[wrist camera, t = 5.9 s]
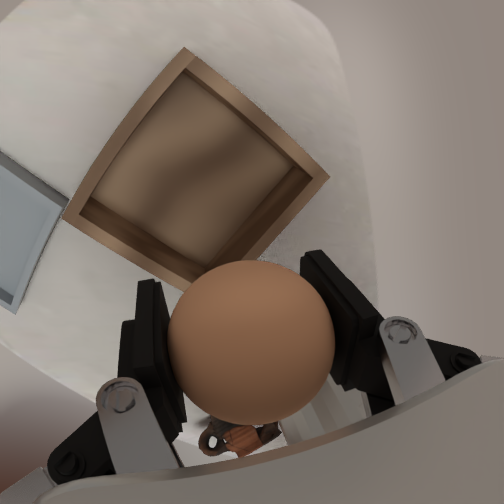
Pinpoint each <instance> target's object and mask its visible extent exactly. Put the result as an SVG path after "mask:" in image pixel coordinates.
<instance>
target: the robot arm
mask: <svg viewBox="0 0 504 504" xmlns="http://www.w3.org/2000/svg"><path fill="white" fill-rule="evenodd" d="M300 276H301V277H302V278H304V279H305V280H306V281H307V282H308V283H310V284H311V285H312V286H313V288H314V289H315V290H316V291H317V292H318V294H319V295H320V296H321V298H322V299H323V301H324V303H325V304H326V306H327V308H328V310H329V313H330V316H331V319H332V322H333V326H334V332H335V354H334V359H333V363H332V367H331V370H330V372H329V375H328V377H327V379H326V381H325V383H324V385H323V386H322V388H321V389H320V391H319V392H318V393H317V395H316V396H315V397H314V398H313V399H312V400H311V401H310V402H309V403H308V404H307V405H305V406H304V407H303V408H302V409H300V410H299V411H298V412H296V413H294V414H293V415H291V416H289V417H287V418H284V419H282V420H279V424H280V427H281V429H282V432H283V434H284V437H285V439H286V442H287V444H288V446H285V447H281V448H278V449H274V450H270V451H266V452H262V453H258V454H254V455H250V456H245V457H241V458H236V459H232V460H226V461H221V462H216V463H210V464H204V465H198V466H191V467H184V465H183V463H182V461H181V459H180V457H179V455H178V453H177V451H176V449H175V447H174V445H173V443H172V442H173V441H174V440H175V439H176V438H177V436H178V435H179V432H183V430H182V423H185V422H187V417H186V410H185V404H184V397H183V391H182V389H181V388H180V386H179V384H178V383H177V381H176V379H175V377H174V374H173V371H172V368H171V364H170V359H169V354H168V347H167V333H168V326H169V322H170V316H169V312H168V309H167V305H166V301H165V297H164V293H163V289H162V285H161V282H155V280H154V279H148V280H142V281H138V288H137V299H136V312H135V319H134V320H128V321H123V322H122V328H121V338H120V349H119V361H118V376H117V378H114V379H112V380H110V381H108V382H106V383H105V384H104V385H103V386H102V387H101V388H100V389H99V391H98V393H97V396H96V406H97V410H98V411H97V412H96V413H94V414H93V415H92V416H91V417H90V418H89V419H88V420H87V421H86V422H85V423H83V424H82V425H81V426H80V427H79V428H78V429H77V430H76V431H75V432H73V433H72V434H71V435H70V436H69V437H68V438H67V439H66V440H64V441H63V442H62V443H61V444H60V445H59V446H58V447H57V448H55V449H54V451H53V452H52V453H51V454H50V457H49V459H48V463H47V467H45V468H44V469H43V468H41V467H39V468H37V469H36V470H34V471H33V472H31V473H30V474H28V475H27V476H26V477H24V478H23V479H21V480H20V481H19V482H17V483H15V484H14V485H12V486H11V487H9V488H8V489H6V490H5V491H3V492H2V493H1V494H0V504H504V358H500V357H491V356H483V355H481V357H480V358H479V357H478V356H477V355H476V353H474V352H473V351H471V350H470V349H467V348H464V347H459V346H455V345H451V344H446V343H443V342H438V341H434V340H430V339H426V338H425V337H424V335H423V333H422V331H421V329H420V328H419V327H418V325H417V324H416V323H415V322H413V321H412V320H410V319H408V318H404V317H399V316H394V317H389V318H387V319H384V318H383V317H382V316H381V314H380V313H379V312H378V311H377V310H376V309H375V308H374V306H373V305H372V304H371V303H370V302H369V301H368V300H367V298H366V297H365V296H364V295H363V294H362V293H361V292H360V291H359V289H358V288H357V287H356V286H355V285H354V284H353V283H352V282H351V281H350V280H349V279H348V278H347V277H346V276H345V275H344V274H343V273H342V272H341V271H340V270H339V268H338V267H337V266H336V265H335V264H334V263H333V262H332V261H331V260H330V259H329V257H328V256H327V255H326V254H325V253H324V252H323V251H322V250H314V251H308V252H306V253H305V255H304V256H303V257H301V259H300Z"/></svg>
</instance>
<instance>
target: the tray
mask: <svg viewBox="0 0 504 504" xmlns="http://www.w3.org/2000/svg"><path fill="white" fill-rule="evenodd" d="M68 201H69V199H68V198H66V197H65V196H63V195H62V194H60V193H59V192H57V191H56V190H54V189H53V188H51V187H50V186H49V185H47V184H46V183H44V182H43V181H41V180H40V179H38V178H37V177H35V176H34V175H33V174H31V173H30V172H28V171H27V170H25V169H24V168H23V167H21V166H20V165H18V164H17V163H16V162H14V161H13V160H11V159H10V158H9V157H7V156H6V155H4V154H3V153H2V152H0V305H1V306H2V307H4V308H5V309H7V310H9V311H10V312H12V313H14V314H15V315H16V313H17V311H18V309H19V307H20V304H21V302H22V300H23V297H24V294H25V292H26V289H27V287H28V284H29V282H30V279H31V277H32V275H33V272H34V270H35V267H36V265H37V263H38V261H39V258H40V256H41V254H42V252H43V250H44V247H45V245H46V243H47V241H48V239H49V237H50V235H51V233H52V231H53V229H54V227H55V225H56V223H57V221H58V219H59V217H60V215H61V213H62V212H63V210H64V208H65V206H66V204H67V202H68Z"/></svg>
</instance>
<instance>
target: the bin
mask: <svg viewBox="0 0 504 504" xmlns="http://www.w3.org/2000/svg"><path fill="white" fill-rule="evenodd" d="M329 178H330V176H329V175H328V174H327V173H326V172H325V171H324V170H323V169H322V168H321V167H320V166H319V165H318V164H317V163H316V162H315V161H314V160H313V159H312V158H311V157H310V156H309V155H308V154H307V153H306V152H305V151H304V150H303V149H302V148H301V147H300V146H299V145H298V144H297V143H296V142H295V141H294V140H293V139H292V138H291V137H290V136H289V135H288V134H287V133H286V132H285V131H283V130H282V129H281V128H280V127H279V126H278V125H277V124H276V123H275V122H274V121H273V120H272V119H271V118H269V117H268V116H267V115H266V114H265V113H264V112H263V111H262V110H261V109H259V108H258V107H257V106H256V105H255V104H254V103H253V102H251V101H250V100H249V99H248V98H247V97H246V96H245V95H243V94H242V93H241V92H240V91H239V90H238V89H236V88H235V87H234V86H233V85H232V84H230V83H229V82H228V81H227V80H226V79H224V78H223V77H222V76H221V75H219V74H218V73H217V72H216V71H215V70H213V69H212V68H211V67H209V66H208V65H207V64H206V63H204V62H203V61H202V60H201V59H199V58H198V57H197V56H195V55H194V54H193V53H191V52H190V51H189V50H187V49H186V48H185V47H183V49H182V50H181V51H180V52H179V53H178V54H177V55H176V56H175V57H174V58H173V59H172V60H171V62H170V63H169V64H168V65H167V66H166V67H165V68H164V69H163V71H162V72H161V73H160V74H159V75H158V76H157V78H156V79H155V80H154V81H153V82H152V84H151V85H150V86H149V87H148V88H147V90H146V91H145V92H144V93H143V95H142V96H141V97H140V98H139V100H138V101H137V102H136V103H135V105H134V106H133V107H132V109H131V110H130V111H129V113H128V114H127V115H126V117H125V118H124V119H123V121H122V122H121V123H120V125H119V126H118V128H117V129H116V130H115V132H114V133H113V135H112V136H111V137H110V139H109V140H108V142H107V143H106V145H105V146H104V148H103V149H102V151H101V152H100V154H99V155H98V157H97V158H96V160H95V161H94V163H93V165H92V166H91V168H90V169H89V171H88V173H87V174H86V176H85V177H84V179H83V181H82V182H81V184H80V186H79V188H78V189H77V191H76V193H75V194H74V196H73V198H72V200H71V201H70V203H69V205H68V207H67V209H66V211H65V212H64V214H63V216H62V219H63V220H65V221H66V222H68V223H69V224H71V225H72V226H74V227H75V228H77V229H79V230H80V231H82V232H83V233H85V234H86V235H88V236H90V237H91V238H93V239H94V240H96V241H98V242H99V243H101V244H102V245H104V246H106V247H107V248H109V249H111V250H112V251H114V252H116V253H117V254H119V255H121V256H122V257H124V258H126V259H127V260H129V261H131V262H132V263H134V264H136V265H137V266H139V267H141V268H143V269H144V270H146V271H148V272H149V273H151V274H153V275H155V276H156V277H158V278H160V279H162V280H163V281H165V282H167V283H169V284H171V285H172V286H174V287H176V288H178V289H180V290H181V291H183V292H185V291H186V290H187V289H188V288H189V287H190V286H191V284H192V283H193V282H195V281H196V280H197V279H198V278H199V277H201V276H202V275H204V274H205V273H207V272H208V271H210V270H212V269H214V268H216V267H219V266H221V265H224V264H227V263H232V262H236V261H244V260H256V259H257V258H258V257H259V256H260V255H261V254H262V253H263V252H264V251H265V249H266V248H267V247H268V246H269V245H270V244H271V243H272V242H273V241H274V239H275V238H276V237H277V236H278V235H279V234H280V233H281V232H282V230H283V229H284V228H285V227H286V226H287V225H288V224H289V223H290V222H291V220H292V219H293V218H294V217H295V216H296V215H297V214H298V213H299V211H300V210H301V209H302V208H303V207H304V206H305V205H306V204H307V202H308V201H309V200H310V199H311V198H312V197H313V196H314V195H315V193H316V192H317V191H318V190H319V189H320V188H321V187H322V186H323V184H324V183H325V182H326V181H327V180H328V179H329Z"/></svg>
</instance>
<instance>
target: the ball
mask: <svg viewBox="0 0 504 504" xmlns="http://www.w3.org/2000/svg"><path fill="white" fill-rule="evenodd" d="M167 347H168V354H169V359H170V364H171V368H172V371H173V374H174V377H175V379H176V381H177V383H178V384H179V386H180V388H181V389H182V391H183V392H184V393H185V394H186V396H187V397H188V398H189V399H190V400H191V401H192V402H193V403H194V404H195V405H196V406H198V407H199V408H200V409H202V410H203V411H205V412H206V413H208V414H210V415H212V416H214V417H216V418H218V419H220V420H223V421H226V422H230V423H234V424H240V425H262V424H268V423H273V422H276V421H279V420H282V419H284V418H287V417H289V416H291V415H293V414H294V413H296V412H298V411H299V410H300V409H302V408H303V407H304V406H305V405H307V404H308V403H309V402H310V401H311V400H312V399H313V398H314V397H315V396H316V395H317V393H318V392H319V391H320V389H321V388H322V386H323V385H324V383H325V381H326V379H327V377H328V375H329V372H330V370H331V367H332V363H333V359H334V354H335V332H334V326H333V322H332V319H331V316H330V313H329V310H328V308H327V306H326V304H325V303H324V301H323V299H322V298H321V296H320V295H319V294H318V292H317V291H316V290H315V289H314V288H313V286H312V285H311V284H310V283H308V282H307V281H306V280H305V279H304V278H302V277H301V276H300V275H298V274H297V273H295V272H293V271H292V270H290V269H287V268H285V267H283V266H280V265H278V264H274V263H271V262H265V261H257V260H244V261H236V262H232V263H227V264H224V265H221V266H219V267H216V268H214V269H212V270H210V271H208V272H207V273H205V274H204V275H202V276H201V277H199V278H198V279H197V280H196V281H195V282H193V283H192V284H191V286H190V287H189V288H188V289H187V290H186V291H185V292H184V293H183V295H182V296H181V298H180V299H179V301H178V303H177V305H176V307H175V309H174V311H173V313H172V316H171V319H170V322H169V326H168V333H167Z"/></svg>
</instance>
